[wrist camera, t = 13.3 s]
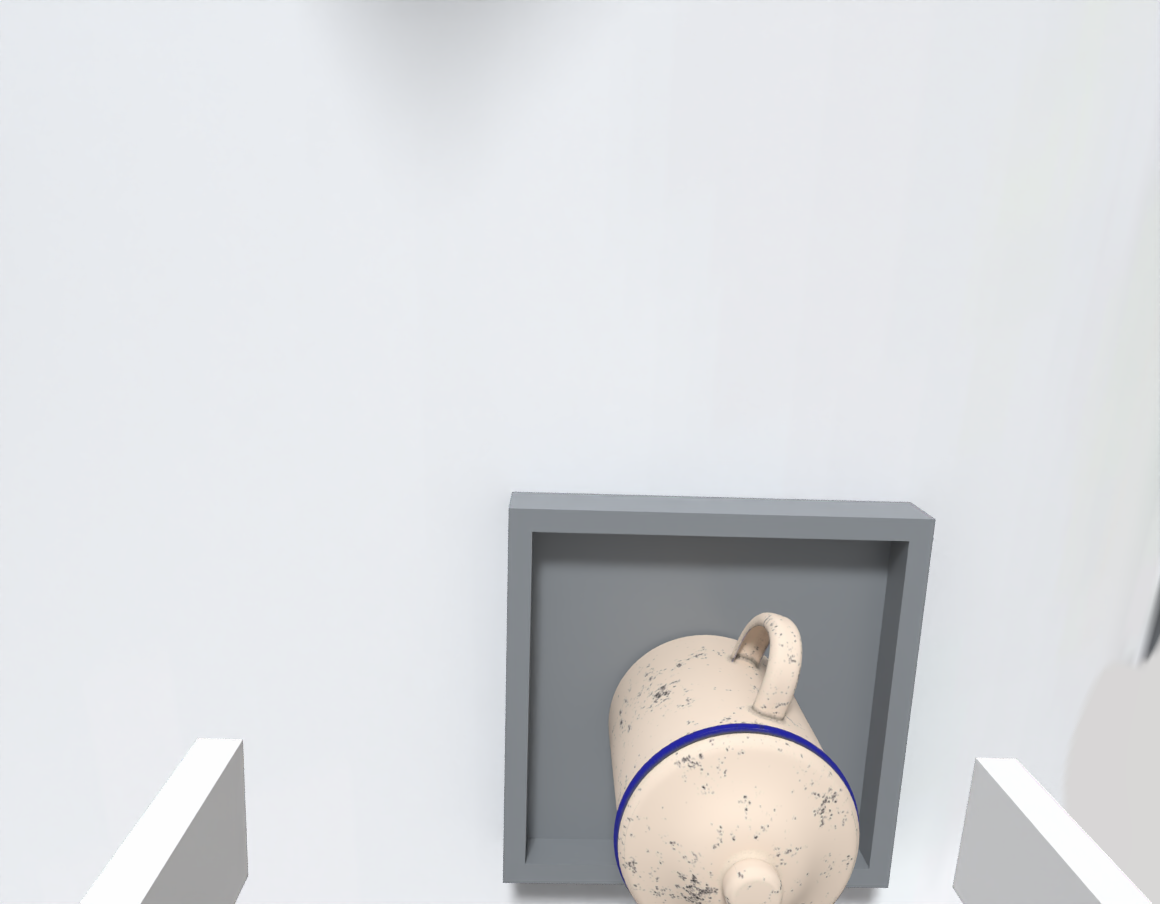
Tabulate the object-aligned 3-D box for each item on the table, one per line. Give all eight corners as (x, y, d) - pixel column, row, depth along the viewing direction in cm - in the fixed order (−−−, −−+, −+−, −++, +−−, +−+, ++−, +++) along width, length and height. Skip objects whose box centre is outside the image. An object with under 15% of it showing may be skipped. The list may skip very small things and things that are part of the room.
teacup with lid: (756, 824, 41) (832, 1041, 29) (577, 774, 40) (583, 977, 29) (849, 601, 38) (970, 743, 27) (660, 543, 38) (703, 665, 26)
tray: (506, 845, 42) (503, 882, 39) (512, 491, 38) (508, 508, 35) (868, 850, 42) (888, 887, 40) (910, 502, 38) (935, 519, 36)
